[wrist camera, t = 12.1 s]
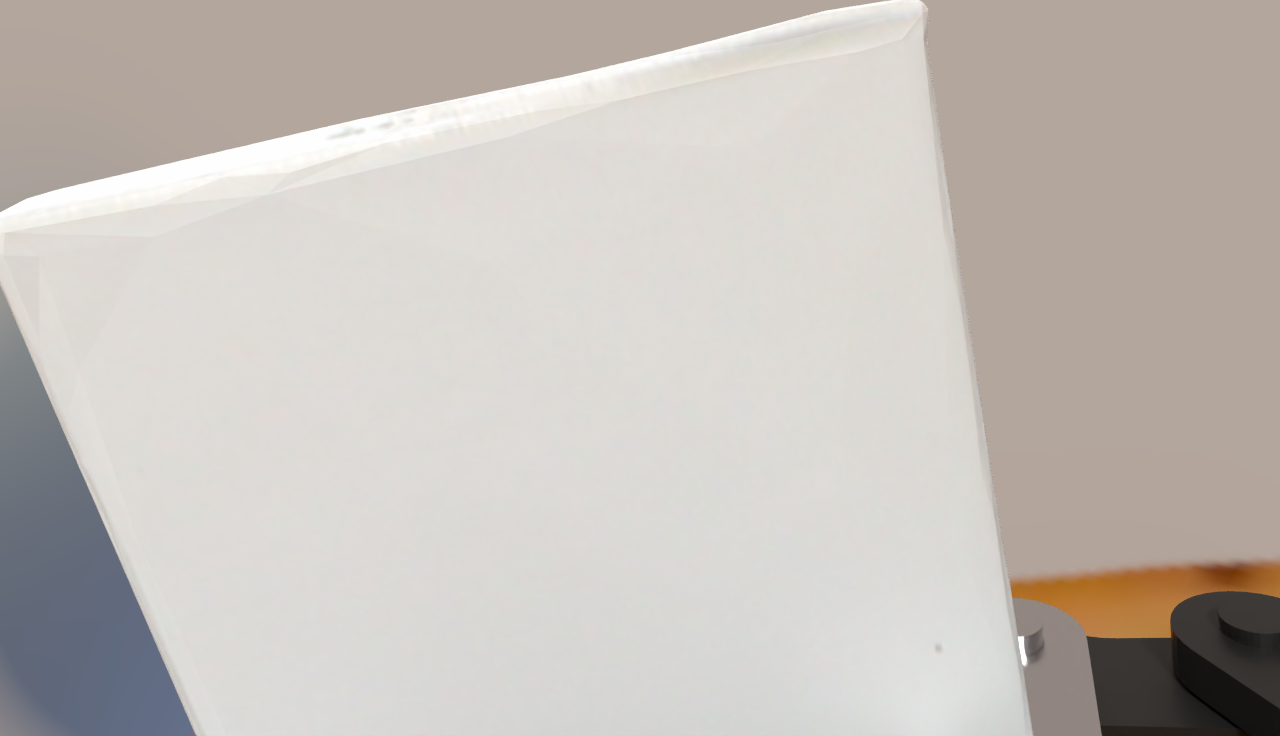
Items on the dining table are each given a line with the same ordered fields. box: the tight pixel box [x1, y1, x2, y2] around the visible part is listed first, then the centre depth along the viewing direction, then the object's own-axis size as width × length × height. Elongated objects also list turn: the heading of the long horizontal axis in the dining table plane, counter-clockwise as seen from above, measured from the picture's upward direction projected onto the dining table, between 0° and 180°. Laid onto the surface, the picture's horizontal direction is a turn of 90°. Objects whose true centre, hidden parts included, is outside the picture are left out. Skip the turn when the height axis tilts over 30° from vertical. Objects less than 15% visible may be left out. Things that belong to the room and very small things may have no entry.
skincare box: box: [0, 0, 1033, 736], centre depth 10 cm, size 8×6×15 cm
